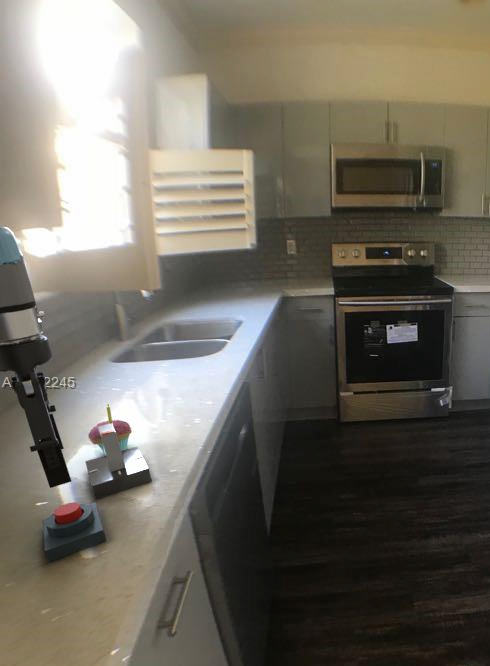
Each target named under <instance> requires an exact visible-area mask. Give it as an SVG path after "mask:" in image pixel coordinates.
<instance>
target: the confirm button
mask: <svg viewBox="0 0 490 666" xmlns="http://www.w3.org/2000/svg"><path fill="white" fill-rule="evenodd" d="M80 504H81V503H79V502H76V501H75V502H73V501H72V502H68V503H64V504H62V505H60V506H58V507H56V509H55V510H54V511H53V514H54V515H55V518H56V520H57V523H59V524H66V523H69V522H72V521H75V520H76V519H78V518H79V517H81V516H82V510H81V507H80Z"/></svg>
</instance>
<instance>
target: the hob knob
mask: <svg viewBox="0 0 490 666" xmlns="http://www.w3.org/2000/svg"><path fill="white" fill-rule="evenodd" d="M98 430H99V434H100V437H101V441H102V444H103V448H104V451H105V454H104V456H106V458H107V462H108V464H109V467H110V470H111V472H113V471H116V470H119V469H122V468H125V463H124V460H123V456H122V452H121V449H120V445H119V441H118V438H117V434H116V431H115V429H114V427H113V424H112V423H110V424H107V425H103V426H99V427H98Z"/></svg>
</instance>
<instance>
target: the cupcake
mask: <svg viewBox="0 0 490 666" xmlns="http://www.w3.org/2000/svg"><path fill="white" fill-rule="evenodd" d="M106 412H107V413H106V414H107V420H106V421H105V420H104V421H101V422H99V423H97V424H96V425H95V426H93V427H92V428H91V429H90V431H89V433H88V435H87V437H88V440H89V441H90V442H91V443H92V445H97V446H98V447H99V449H100V450H101V451H102V452H103V454H104V455H105V451H104V448H103V444H102V441H101V437H100V434H99V430H98V427H99V426H103V425H107V424H110V423H112V424H113V427H114V429H115V431H116V434H117V438H118V441H119V445H120V449H121V451H123V450H127V449H128V443H129V439H130V435H131V434H132V428H131V426H130V423H128V422H127V421H124V420H121V419H120V420H119V419H115V420H114V419H113V418H112V412H111V406H110V404H109V403H107V406H106Z"/></svg>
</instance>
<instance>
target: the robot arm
mask: <svg viewBox="0 0 490 666" xmlns="http://www.w3.org/2000/svg"><path fill="white" fill-rule="evenodd" d="M29 277H30V276H29V274H28V270H27V267H26V264H25V260H24V254H23V253H22V251H21V250H20V248H19V245H18V241H17V239H16V236H15V233H14V232H13V231H12V230H11V229H10V228H8V227H6V226H0V372H1V373H3V372H14V374H15V376H11V377H10V379H11V382H10V384H11V387H12V390H13V392H14V393H15V394H16V397H17V401H18V404H19V405H20V407H21V408H22V409H23V411H24V414H25V418H26V420H27V423H28V426H29V427H28V428H29V430H30V433H31V436H32V440H33V442H34V444H33V445H31V446H29V450H30V452H31V453H34V452H37V455H38V457H39V460H40V463H41V466H42V469H43V471H44V474H45V478H46V480H47V483H48V486H49V488H50V489H52V488H56V487H58V486H61V485H62V486H63V485H65V484H68V483H72V481H73V480H72V478H71V476H70V475H71V474H70V472H69V469H68V466H67V462H66V460H65V457H64V453H63V450H64V449H65V447H64V445H63V444H64V443H63V442H62V439H61V436H60V435H61V434H60V432H59V429H58V426H57V423H56V420H55V417H54V414H53V413H55V412H57V409H56V408H57V407H56V406H55V404H52V405H50V399H49V395H48V389H47V380H46V377H45V375H44V371H38V369H37V366H43V365H45V364H47V363H49V362H50V361H52V359H53V357H54V356H53V353H52V350H51V346H50V342H49V340H48V337H47V336H45V335H43V333H44V332H45V328H44V325H43V322H42V320H41V319H44V318H46V313H44V311H38V310H39V309H38V306H37V303H36V298H35V294H34V292H33V291H34V290H33V288H32V284H31V281H30V278H29Z"/></svg>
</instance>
